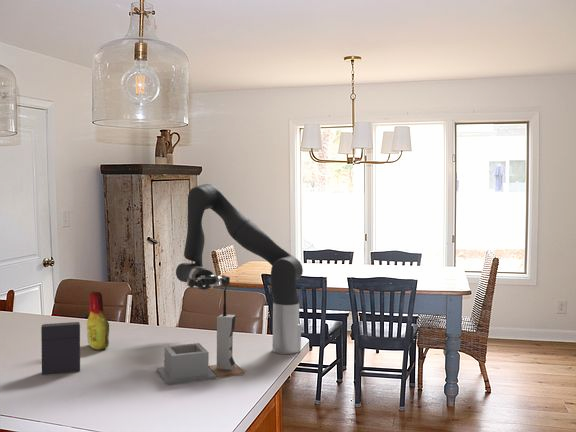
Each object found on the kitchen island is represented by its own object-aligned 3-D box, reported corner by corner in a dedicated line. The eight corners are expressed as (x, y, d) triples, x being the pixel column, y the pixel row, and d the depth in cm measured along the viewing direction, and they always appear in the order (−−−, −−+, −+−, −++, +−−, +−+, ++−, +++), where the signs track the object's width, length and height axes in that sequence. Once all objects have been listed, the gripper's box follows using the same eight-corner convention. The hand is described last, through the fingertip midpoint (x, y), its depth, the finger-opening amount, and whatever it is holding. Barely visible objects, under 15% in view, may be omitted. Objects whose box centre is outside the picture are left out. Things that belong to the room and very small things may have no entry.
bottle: (82, 345, 208) (82, 290, 207) (99, 342, 212) (99, 288, 211) (94, 352, 199) (94, 295, 198) (112, 349, 203) (112, 293, 202)
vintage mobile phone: (231, 370, 179) (232, 290, 178) (216, 369, 180) (217, 290, 179) (235, 367, 183) (236, 288, 182) (220, 365, 184) (220, 288, 183)
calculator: (79, 368, 182) (79, 321, 182) (80, 372, 178) (80, 324, 178) (42, 371, 178) (41, 323, 178) (41, 375, 174) (41, 326, 174)
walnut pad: (234, 364, 188) (234, 362, 188) (244, 374, 178) (244, 371, 178) (207, 368, 184) (207, 365, 184) (216, 377, 175) (216, 375, 175)
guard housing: (203, 365, 186) (203, 341, 186) (216, 379, 174) (216, 352, 173) (156, 371, 180) (157, 345, 180) (166, 385, 168) (166, 358, 167)
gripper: (181, 268, 207) (193, 274, 192) (220, 266, 213) (234, 271, 198) (182, 289, 207) (194, 297, 193) (220, 286, 213) (234, 293, 198)
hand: (214, 284), depth 195 cm, fingers open, 8 cm apart
